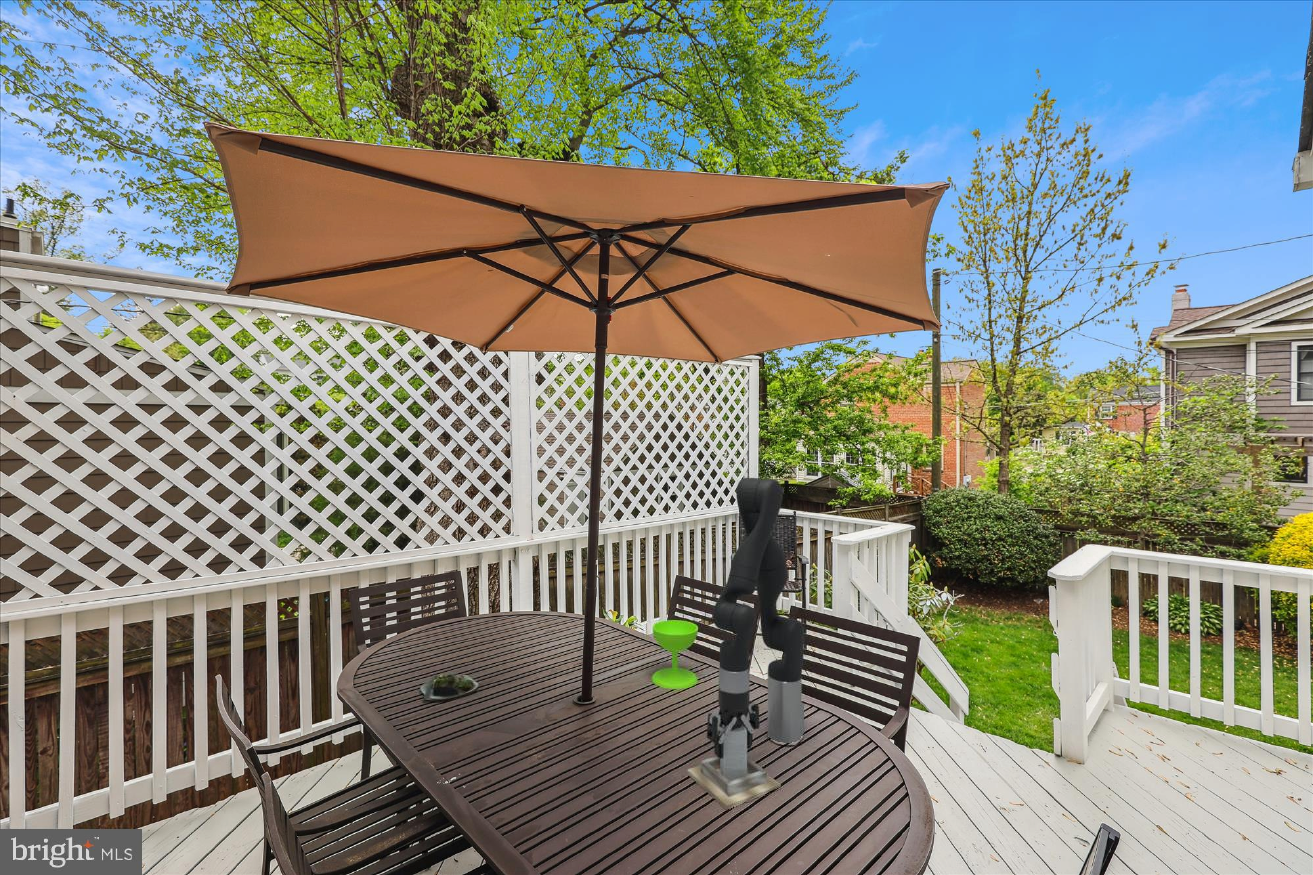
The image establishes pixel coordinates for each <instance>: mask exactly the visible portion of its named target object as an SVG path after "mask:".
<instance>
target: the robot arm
mask: <svg viewBox="0 0 1313 875" xmlns="http://www.w3.org/2000/svg"><path fill="white" fill-rule="evenodd" d="M783 492H784V491H783V487H782V485H781V483H780V481H778V480H776V479H774V478H764V477H763V478H762V477H761V478H759V477H745V478H741V479H740V480H739V481H738V484H737V486H736V503H737V507H738V510H739V511H738V512H739V514H740V518H741V521H742V525H743V528H744V532H745V535H746V539H745V540H744V541H743V542H742V543H741V544H740V546H739V547H738V548H737V549H736V552H735V553H734V555H733V558H732V561H731V565H730V569H729V575H728V578H727V582H726V583H725V586H724V587H723V590H722V592H721V593H720V595H719V598H718V599H717V601H716V602H715V605H714V608H713V611H712V620H713V624H714V626H715V627H716V628H717V629H719V630H721V631H726V632H729V633H733V634H736V636H735V639H734V638H733V639H732V638H730V639H724V640H723V641H722V642H721V643H720V646H719V669H718V682H717V684H718V686H717V687H718V688H717V689H718V694H717V695H718V696H717V697H718V698H717V699H718V700H717V702H718V706H719V711H718V713H715V714H714V713H711V712H709V713H708V715H707V724H706V726H707V729H706V738H707V739H708V740H709V741H710V742H711V743H713V744H714V745H713V747H714V749H713V750H714V751H713V753H714V754H715V756H717V757H718V758H720V759H722V758H723V743H722V742H723V740H724V739H725V737H726V736H727V735H728V734H729V732H730V730H734V729H735V728H740V727H741V726H742V725H744V726H745V728H746V730H747V750H750V749H752V745H753V739H754V738H753V736H754V735H753V734H754V731H756V730H759V729H760V710H759V709H760V708H759V707H760V706H759V705H758V704H756V703H755V702H753V701H752V700H751V701H750V697H751V696H750V691H751V690H750V685H751V683H750V668H749V666H750V665H749V662H750V661H749V658H750V657H749V656H750V654H749V652H750V647H751V642H752V638H753V635H754V632H755V629H756V626H757V614H756V612H755V609H754V608H753V607H752V606H750V605H749V604H744V603H739V602H737V601H738V599H739V598H740V597H742V596H750V595H753V594H754V593H755V590H756V594H757V600H758V601H757V602H758V607H759V619H760V629H761V631H760V632H761V637H762V642H763V643H764V645H765V646H766V647H767V648H768V649H771V650H774V651H779V652H782V653H785V657H784V658H782V659H775V660H772V661H771V662H769V663H768V665H767V737H768V736H769V737H770V738H771V739H772V740H775V741H777V742H783V743H791V742H796V741H798V740H800V738H801V736H802V735H803V734H804V735H805V704H804V703H803V702H802V693H803V688H802V687H803V686H802V673H803V667H804V654H805V653H804V650H805V637H806V636H805V627H804V625H803V623H802V622H801V621H800V620H798V619H795V618H790V617H786V616H781V615H779V613H778V608H777V602H778V600H779V597H780V596H781V593H782V592H783V590H784V588H785V586H786V585H787V582H788V578H789V573H788V567H787V559H786V555H785V553H784V550H783V549H782V547H781V545H780V544H779V543H778V541H777V540H776V539H775V538H774V536H773V535H772V532H773V529H774V527H775V523H776V521H777V519H778V516H779V513H780V510H781V506H782V503H783V494H784V493H783ZM747 717H748V718H749V719H748V718H747ZM723 725H724V726H725V727H726V728H725V729H723V728H722V726H723ZM721 732H722V733H721ZM720 733H721V735H720Z"/></svg>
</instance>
